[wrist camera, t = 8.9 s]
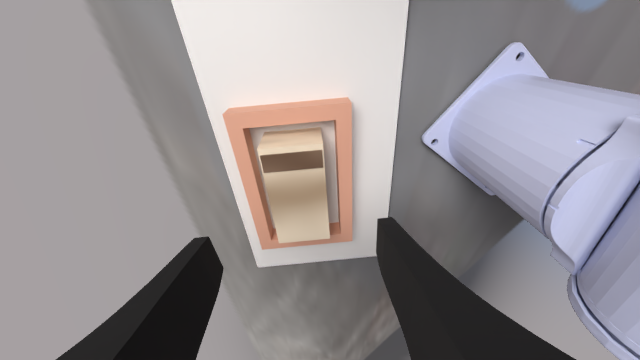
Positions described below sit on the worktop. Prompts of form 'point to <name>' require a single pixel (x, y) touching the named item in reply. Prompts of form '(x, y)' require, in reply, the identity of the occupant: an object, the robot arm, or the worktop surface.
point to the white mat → (305, 93)
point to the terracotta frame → (244, 153)
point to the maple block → (296, 183)
